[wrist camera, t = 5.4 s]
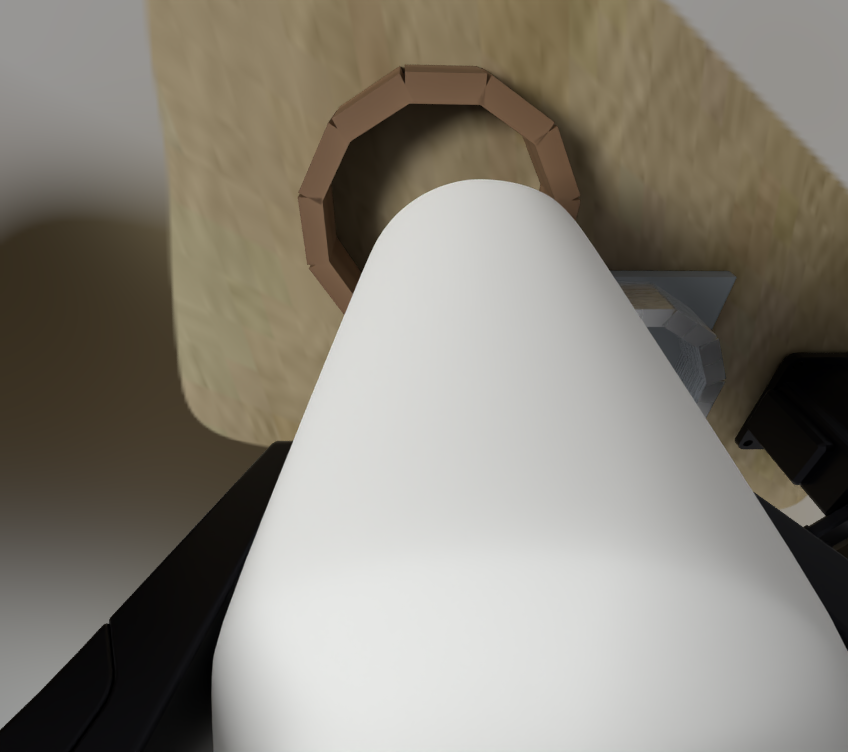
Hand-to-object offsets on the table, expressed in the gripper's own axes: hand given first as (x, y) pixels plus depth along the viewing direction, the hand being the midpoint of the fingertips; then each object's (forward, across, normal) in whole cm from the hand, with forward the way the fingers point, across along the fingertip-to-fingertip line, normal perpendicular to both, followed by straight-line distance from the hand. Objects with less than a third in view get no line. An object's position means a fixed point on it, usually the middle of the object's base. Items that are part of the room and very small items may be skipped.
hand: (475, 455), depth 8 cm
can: (+7, -1, 0) cm, 7 cm away
